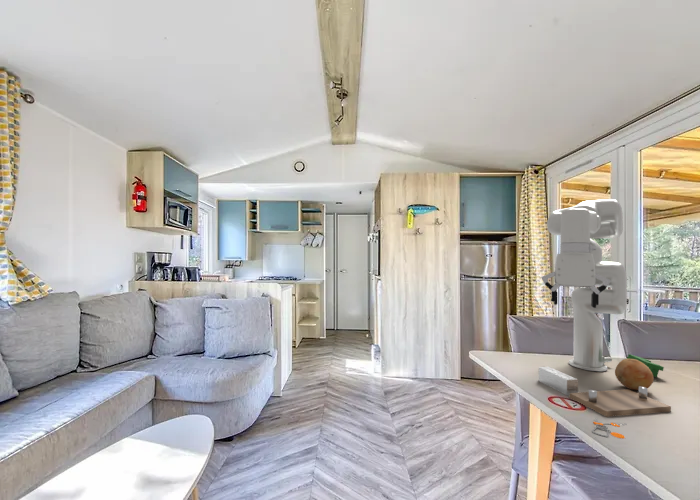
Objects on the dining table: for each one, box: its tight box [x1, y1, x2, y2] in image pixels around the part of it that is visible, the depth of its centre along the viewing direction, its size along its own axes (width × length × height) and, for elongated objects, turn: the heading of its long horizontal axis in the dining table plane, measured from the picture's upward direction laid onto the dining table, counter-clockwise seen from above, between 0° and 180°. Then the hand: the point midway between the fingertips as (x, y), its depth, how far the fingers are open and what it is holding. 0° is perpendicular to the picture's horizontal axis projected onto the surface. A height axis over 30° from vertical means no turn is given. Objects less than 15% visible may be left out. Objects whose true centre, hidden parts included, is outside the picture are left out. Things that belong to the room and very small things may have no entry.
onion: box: [614, 358, 655, 391], centre depth 110 cm, size 10×10×10 cm
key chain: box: [591, 418, 628, 440], centre depth 84 cm, size 13×7×1 cm, turn 135°
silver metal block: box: [538, 366, 579, 396], centre depth 110 cm, size 4×12×5 cm, turn 11°
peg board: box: [569, 386, 672, 418], centre depth 98 cm, size 22×12×4 cm, turn 101°
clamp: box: [626, 353, 665, 378], centre depth 125 cm, size 12×6×9 cm, turn 162°
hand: (574, 305), depth 100 cm, fingers open, 9 cm apart
